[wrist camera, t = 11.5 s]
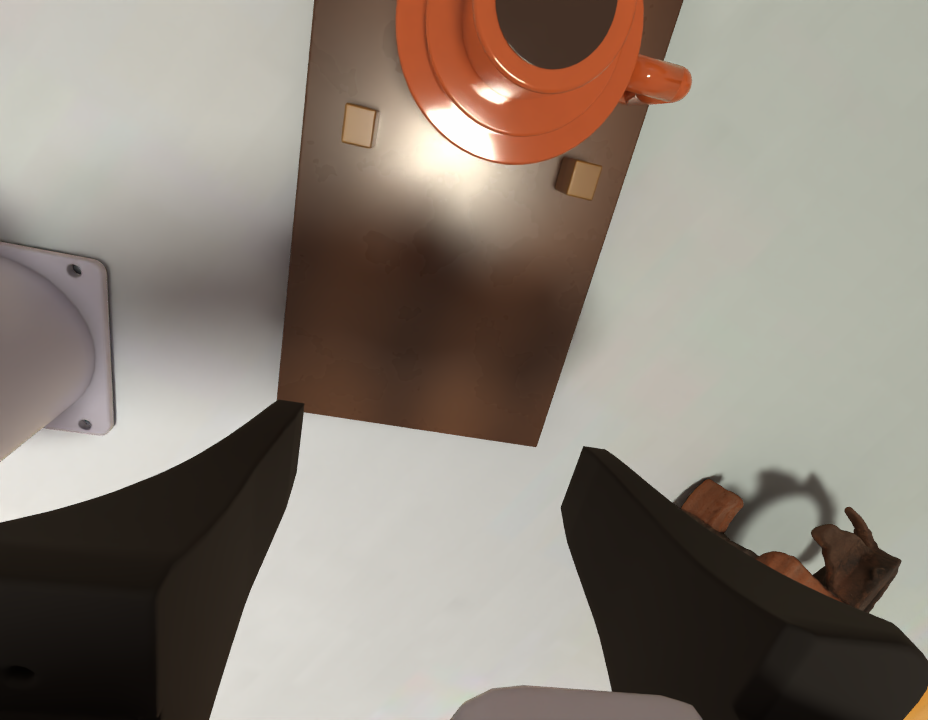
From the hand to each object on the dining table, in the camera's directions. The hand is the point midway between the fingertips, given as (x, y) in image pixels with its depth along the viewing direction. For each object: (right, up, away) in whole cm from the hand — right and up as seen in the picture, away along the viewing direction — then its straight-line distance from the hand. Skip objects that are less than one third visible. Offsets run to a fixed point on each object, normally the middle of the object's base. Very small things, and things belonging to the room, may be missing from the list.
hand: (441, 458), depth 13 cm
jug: (+2, +13, +5) cm, 14 cm away
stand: (0, +9, +8) cm, 12 cm away
